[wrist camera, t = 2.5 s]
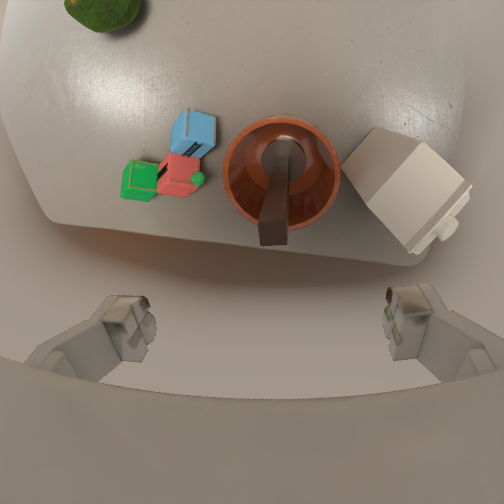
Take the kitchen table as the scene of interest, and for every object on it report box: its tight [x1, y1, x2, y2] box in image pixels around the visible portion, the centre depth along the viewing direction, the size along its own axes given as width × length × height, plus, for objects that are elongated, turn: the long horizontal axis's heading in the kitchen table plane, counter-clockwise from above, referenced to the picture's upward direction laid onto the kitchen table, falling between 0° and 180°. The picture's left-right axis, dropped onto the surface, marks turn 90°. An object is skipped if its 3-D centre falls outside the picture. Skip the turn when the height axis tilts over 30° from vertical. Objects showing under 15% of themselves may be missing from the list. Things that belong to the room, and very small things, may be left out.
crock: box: [223, 114, 341, 230], centre depth 32 cm, size 11×11×11 cm
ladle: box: [258, 137, 306, 246], centre depth 26 cm, size 5×5×23 cm
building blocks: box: [120, 108, 217, 202], centre depth 35 cm, size 8×8×12 cm
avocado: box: [64, 0, 142, 33], centre depth 24 cm, size 8×8×12 cm
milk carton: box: [340, 126, 472, 255], centre depth 27 cm, size 7×7×19 cm
